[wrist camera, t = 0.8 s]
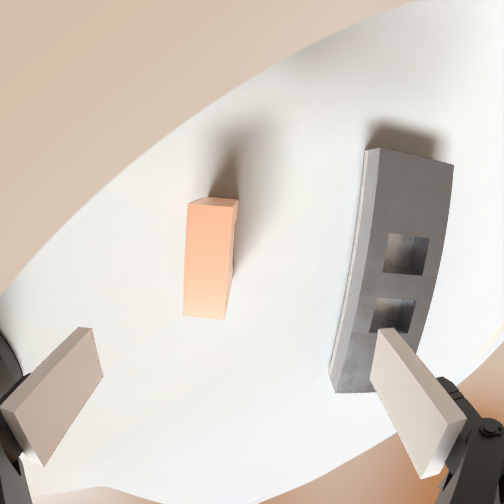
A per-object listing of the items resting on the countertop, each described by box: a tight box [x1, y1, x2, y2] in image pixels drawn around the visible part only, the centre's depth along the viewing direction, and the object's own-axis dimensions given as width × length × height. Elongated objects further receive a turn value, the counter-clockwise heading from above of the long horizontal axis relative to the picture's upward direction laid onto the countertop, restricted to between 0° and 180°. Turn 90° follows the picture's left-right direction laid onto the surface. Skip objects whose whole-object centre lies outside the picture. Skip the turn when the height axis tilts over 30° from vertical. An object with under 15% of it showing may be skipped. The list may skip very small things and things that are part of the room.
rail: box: [328, 147, 454, 393], centre depth 29 cm, size 8×24×4 cm, turn 175°
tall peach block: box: [183, 197, 239, 320], centre depth 26 cm, size 3×8×9 cm, turn 175°
